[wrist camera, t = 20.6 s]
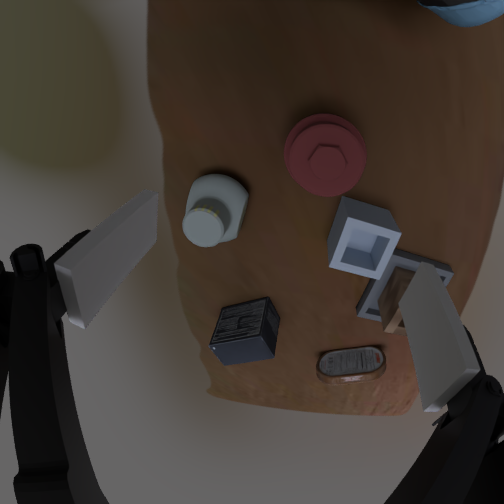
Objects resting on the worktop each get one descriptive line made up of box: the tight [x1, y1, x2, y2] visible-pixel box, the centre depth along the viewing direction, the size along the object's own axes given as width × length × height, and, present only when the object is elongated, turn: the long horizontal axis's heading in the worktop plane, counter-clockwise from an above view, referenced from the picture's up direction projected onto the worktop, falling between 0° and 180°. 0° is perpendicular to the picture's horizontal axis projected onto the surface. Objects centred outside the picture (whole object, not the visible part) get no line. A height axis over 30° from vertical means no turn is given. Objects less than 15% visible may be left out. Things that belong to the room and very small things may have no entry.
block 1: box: [327, 196, 401, 280], centre depth 43 cm, size 8×8×8 cm
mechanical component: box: [284, 113, 367, 197], centre depth 35 cm, size 12×10×10 cm
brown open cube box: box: [377, 266, 416, 336], centre depth 46 cm, size 8×8×8 cm
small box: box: [209, 297, 280, 366], centre depth 55 cm, size 11×6×10 cm, turn 116°
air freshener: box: [183, 174, 249, 247], centre depth 44 cm, size 11×8×10 cm
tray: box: [356, 248, 454, 322], centre depth 49 cm, size 14×14×2 cm
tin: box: [316, 346, 386, 385], centre depth 57 cm, size 15×3×8 cm, turn 106°
